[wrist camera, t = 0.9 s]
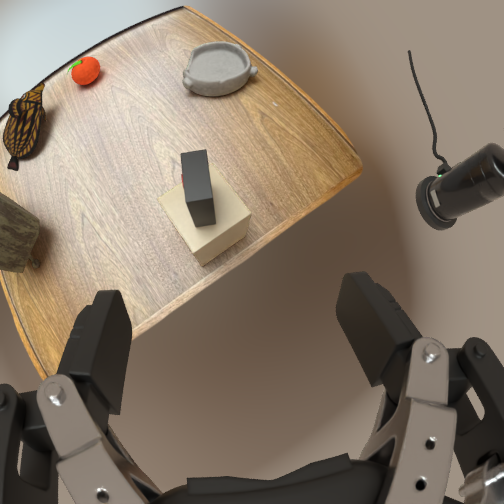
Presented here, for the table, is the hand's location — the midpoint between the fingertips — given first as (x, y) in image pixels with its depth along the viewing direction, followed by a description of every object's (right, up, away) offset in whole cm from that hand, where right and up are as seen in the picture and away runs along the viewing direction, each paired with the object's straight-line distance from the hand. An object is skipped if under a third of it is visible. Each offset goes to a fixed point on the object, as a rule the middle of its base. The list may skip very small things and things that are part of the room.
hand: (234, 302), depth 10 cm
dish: (-6, +38, +39) cm, 54 cm away
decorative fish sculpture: (-49, +28, +33) cm, 65 cm away
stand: (-6, +5, +33) cm, 33 cm away
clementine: (-37, +41, +37) cm, 66 cm away
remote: (-5, +7, +22) cm, 23 cm away
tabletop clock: (-41, +4, +29) cm, 50 cm away
